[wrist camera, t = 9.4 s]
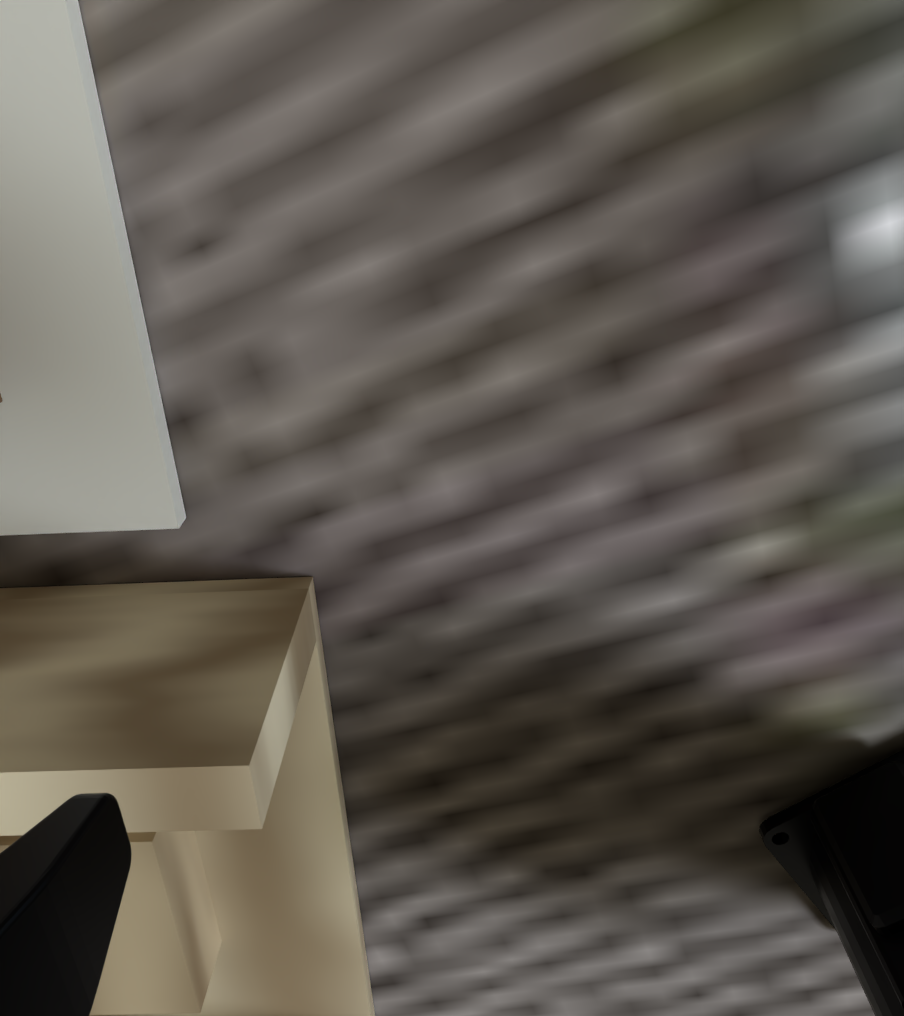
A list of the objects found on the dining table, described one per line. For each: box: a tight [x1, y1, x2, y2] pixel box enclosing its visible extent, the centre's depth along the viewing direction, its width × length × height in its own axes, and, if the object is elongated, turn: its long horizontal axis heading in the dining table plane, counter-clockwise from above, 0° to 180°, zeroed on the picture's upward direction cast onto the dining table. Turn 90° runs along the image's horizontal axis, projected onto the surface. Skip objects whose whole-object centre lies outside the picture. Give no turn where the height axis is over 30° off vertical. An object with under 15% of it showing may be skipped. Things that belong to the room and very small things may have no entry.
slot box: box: [0, 577, 375, 1016], centre depth 23 cm, size 18×19×7 cm
